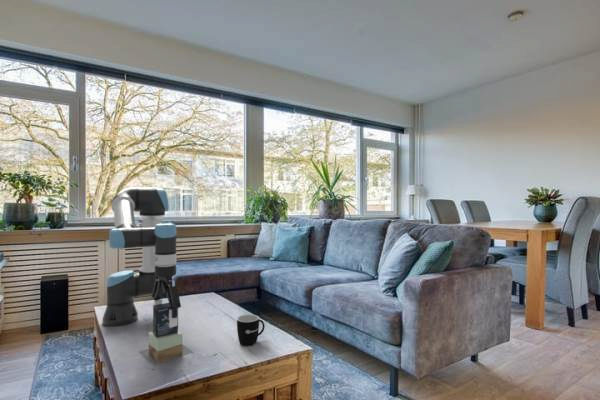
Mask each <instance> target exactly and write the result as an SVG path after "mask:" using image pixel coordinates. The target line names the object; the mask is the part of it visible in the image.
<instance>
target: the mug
mask: <svg viewBox="0 0 600 400" xmlns="http://www.w3.org/2000/svg"><path fill="white" fill-rule="evenodd" d="M260 323H261V324H262V329H261V330H260ZM265 325H266V324H265V322H264V321H263V320H261V319H260V316H258V315H256V314H243V315H239V316H238V317H237V318H236V331H237V337H238V342H239V345H241V346H243V347H250V346H251V347H252V346H254V345H256V343H257V341H258V337H259V336H260V335H262V334H263V332H264V330H265V328H266V327H265ZM259 330H260V332H259Z"/></svg>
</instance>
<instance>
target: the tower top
mask: <svg viewBox="0 0 600 400" xmlns="http://www.w3.org/2000/svg"><path fill="white" fill-rule="evenodd" d="M149 344H150V345H151V346H152V347H153V348H155V349H156V350H157V351H161V350H164V349H167V348H170V347H174V346H177V345H180V344H183V332H182V331H180V330H178V333H174V334H169V335H164V336H160V337H156V336H155V335H154V333H153V331H150V332H148V345H149Z"/></svg>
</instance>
